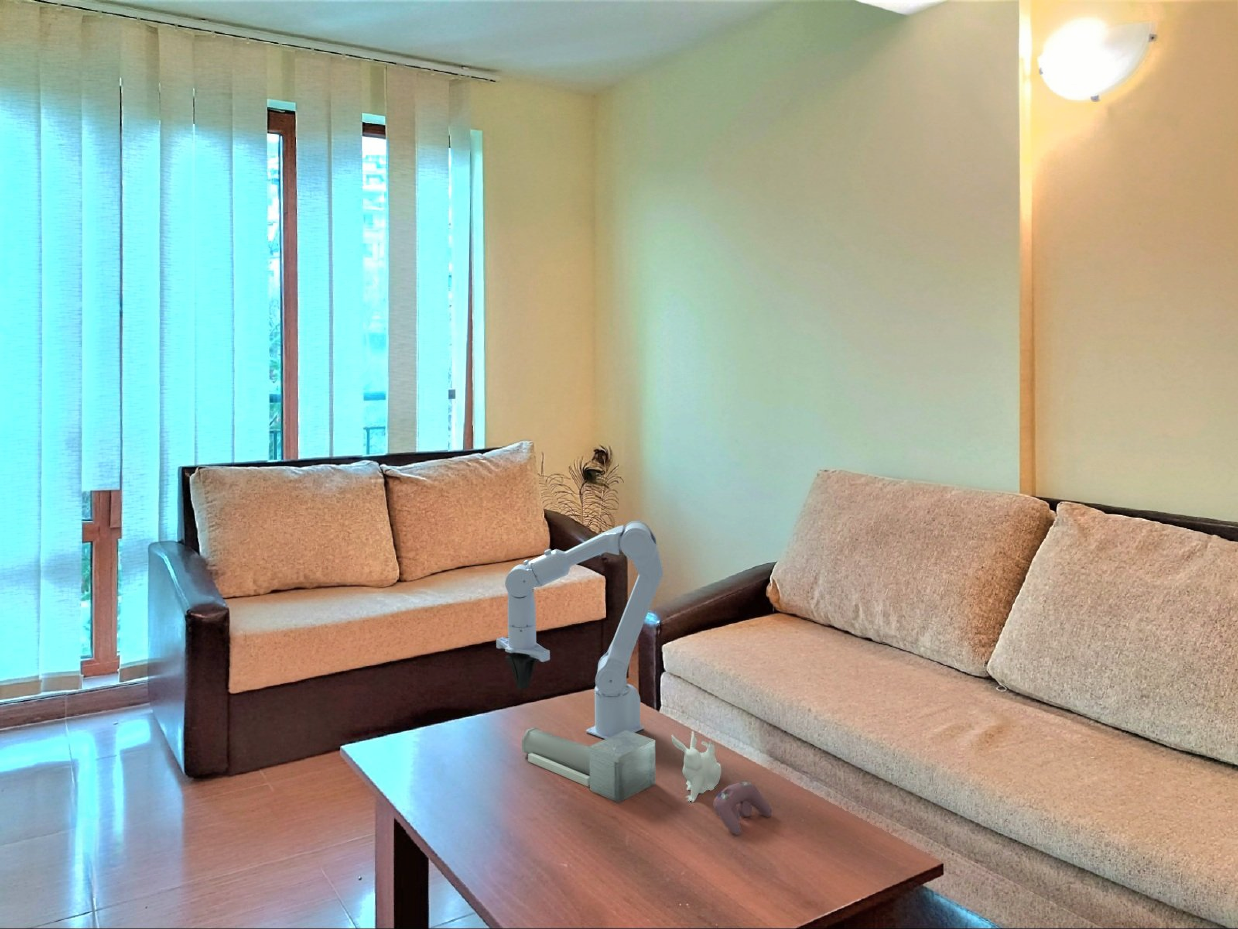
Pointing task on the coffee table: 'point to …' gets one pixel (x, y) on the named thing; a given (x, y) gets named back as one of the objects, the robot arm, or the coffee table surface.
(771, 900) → the coffee table surface
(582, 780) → the rails
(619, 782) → the socket
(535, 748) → the tube
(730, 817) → the video game controller
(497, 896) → the coffee table surface
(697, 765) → the rabbit figurine
